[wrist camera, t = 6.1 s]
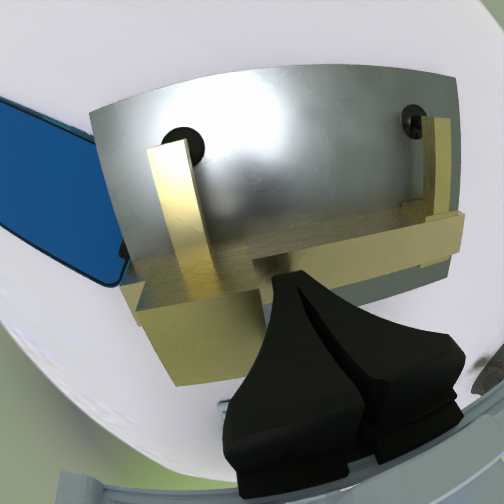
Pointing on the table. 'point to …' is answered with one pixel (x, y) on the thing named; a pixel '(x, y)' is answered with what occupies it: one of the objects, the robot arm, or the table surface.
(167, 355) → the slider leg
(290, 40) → the table surface
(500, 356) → the tankard
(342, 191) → the base
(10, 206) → the smartphone
